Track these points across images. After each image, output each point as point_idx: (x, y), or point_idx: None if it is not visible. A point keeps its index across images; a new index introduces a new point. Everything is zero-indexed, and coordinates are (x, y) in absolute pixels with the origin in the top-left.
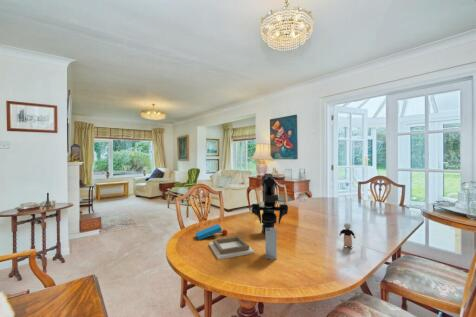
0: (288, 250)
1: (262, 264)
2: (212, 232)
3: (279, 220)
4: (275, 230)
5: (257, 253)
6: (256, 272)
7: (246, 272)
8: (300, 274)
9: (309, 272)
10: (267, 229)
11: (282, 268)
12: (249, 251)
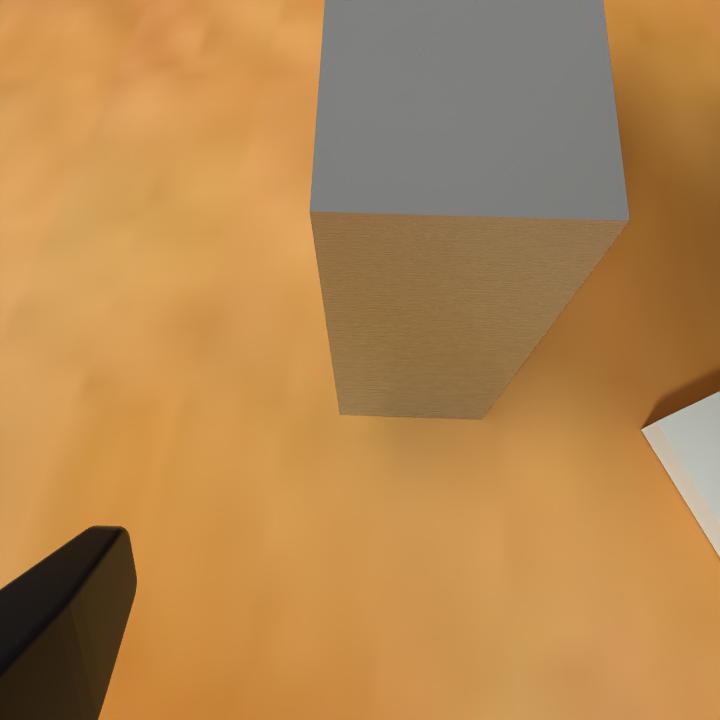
0: None
1: None
2: None
3: (38, 596)
4: (348, 15)
5: (591, 432)
6: None
7: (650, 31)
8: (164, 31)
9: (69, 64)
10: (557, 66)
11: (308, 110)
12: (716, 400)
